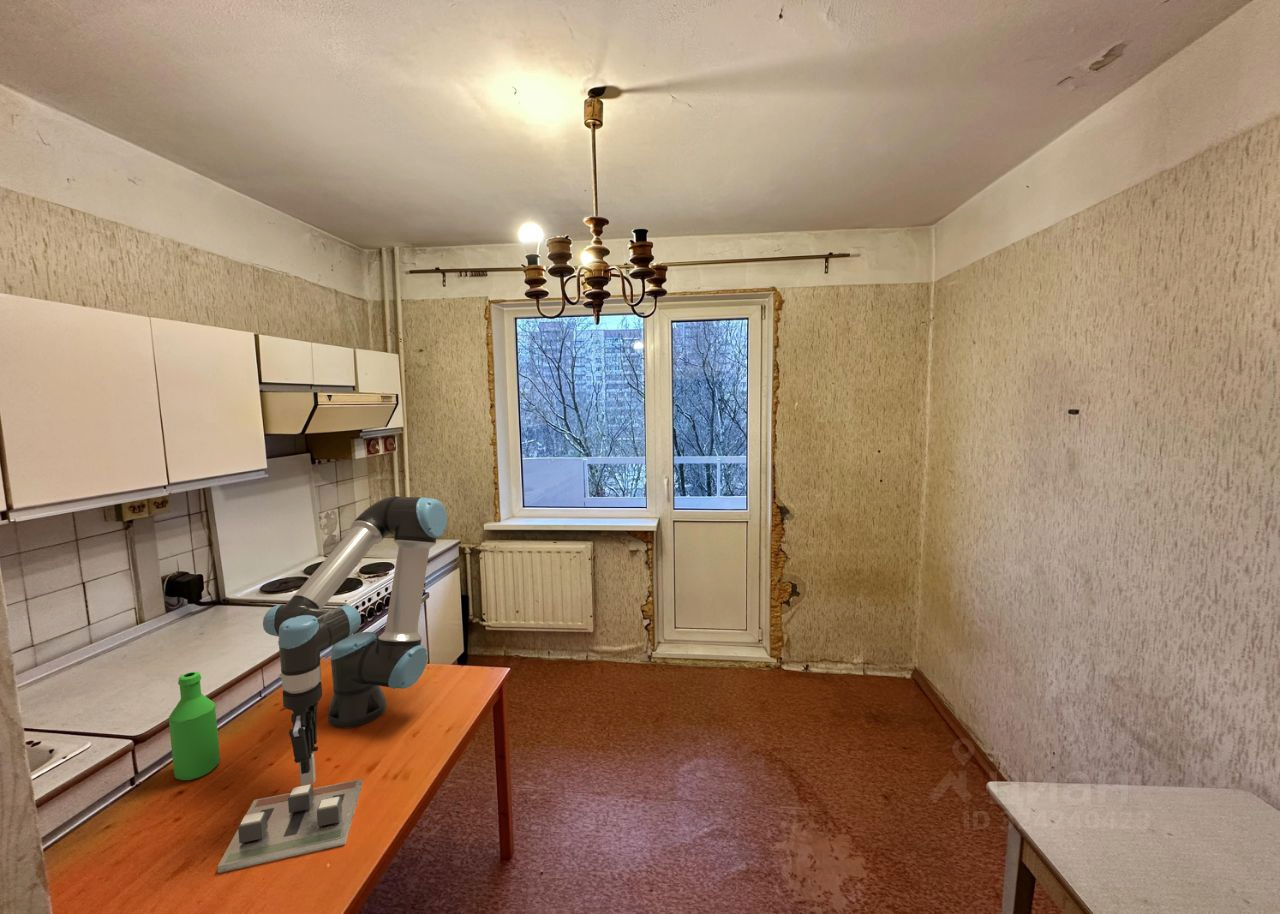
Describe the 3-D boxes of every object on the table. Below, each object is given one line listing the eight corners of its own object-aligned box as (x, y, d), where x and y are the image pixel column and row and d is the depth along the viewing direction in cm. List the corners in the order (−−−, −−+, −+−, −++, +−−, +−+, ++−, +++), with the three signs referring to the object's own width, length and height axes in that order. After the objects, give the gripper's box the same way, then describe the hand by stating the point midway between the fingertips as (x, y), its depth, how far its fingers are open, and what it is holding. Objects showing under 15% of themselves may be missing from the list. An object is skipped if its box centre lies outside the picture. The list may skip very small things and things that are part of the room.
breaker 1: (245, 831, 110) (243, 814, 109) (267, 827, 111) (266, 810, 110) (239, 843, 107) (237, 825, 106) (262, 838, 108) (261, 820, 108)
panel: (254, 806, 119) (253, 799, 119) (362, 784, 126) (361, 778, 126) (218, 873, 102) (217, 865, 102) (345, 844, 109) (344, 837, 109)
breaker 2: (293, 803, 118) (292, 787, 117) (313, 799, 119) (312, 783, 118) (288, 813, 115) (287, 796, 114) (309, 808, 116) (308, 792, 116)
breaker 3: (321, 816, 114) (320, 799, 114) (342, 811, 115) (341, 795, 115) (317, 826, 111) (316, 809, 111) (339, 822, 112) (337, 805, 112)
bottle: (227, 764, 133) (219, 670, 130) (186, 787, 125) (177, 687, 123) (208, 754, 137) (200, 663, 134) (166, 776, 129) (157, 679, 126)
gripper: (292, 674, 125) (298, 767, 127) (272, 703, 113) (279, 806, 115) (328, 669, 127) (333, 761, 129) (312, 697, 115) (318, 798, 117)
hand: (308, 782), depth 122 cm, fingers closed
